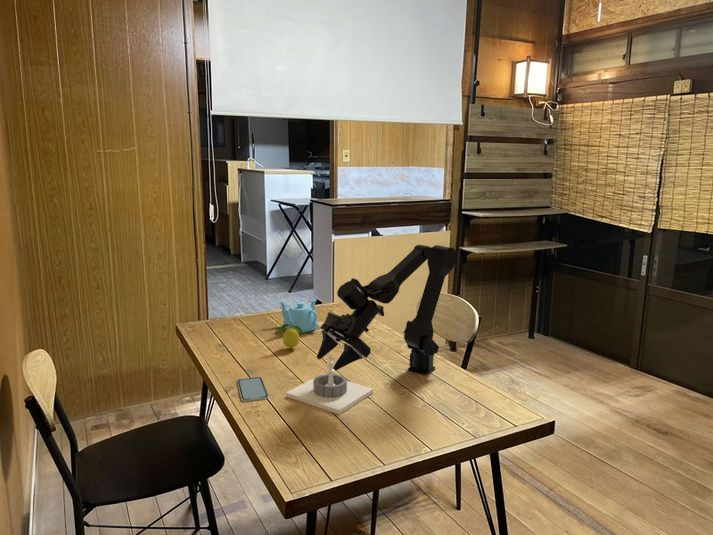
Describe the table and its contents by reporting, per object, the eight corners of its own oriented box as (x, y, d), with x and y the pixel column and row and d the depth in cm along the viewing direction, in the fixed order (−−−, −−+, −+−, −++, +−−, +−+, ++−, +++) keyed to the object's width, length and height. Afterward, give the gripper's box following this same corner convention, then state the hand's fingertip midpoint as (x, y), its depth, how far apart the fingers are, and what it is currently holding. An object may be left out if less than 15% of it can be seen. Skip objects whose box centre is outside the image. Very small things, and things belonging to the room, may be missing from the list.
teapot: (321, 334, 199) (322, 307, 197) (281, 336, 196) (281, 309, 194) (316, 322, 213) (316, 297, 211) (278, 324, 210) (278, 299, 208)
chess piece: (325, 385, 150) (325, 351, 148) (341, 387, 149) (342, 353, 147) (319, 392, 145) (318, 358, 143) (336, 395, 144) (336, 360, 142)
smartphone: (261, 376, 158) (269, 397, 144) (261, 379, 158) (269, 399, 144) (236, 379, 156) (241, 400, 142) (236, 382, 156) (241, 403, 142)
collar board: (373, 392, 148) (373, 378, 148) (339, 414, 136) (339, 399, 135) (322, 377, 158) (322, 364, 158) (286, 396, 146) (286, 382, 145)
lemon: (278, 351, 180) (278, 322, 178) (284, 345, 186) (284, 317, 184) (297, 352, 179) (296, 324, 177) (303, 347, 184) (302, 319, 182)
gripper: (326, 294, 152) (291, 337, 148) (361, 309, 136) (323, 358, 133) (349, 316, 157) (316, 359, 154) (386, 334, 142) (350, 381, 138)
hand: (325, 363), depth 144 cm, fingers open, 9 cm apart
